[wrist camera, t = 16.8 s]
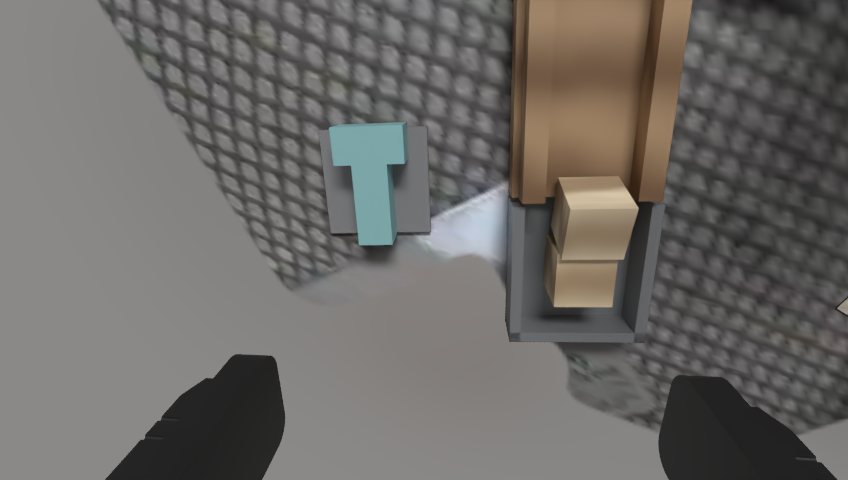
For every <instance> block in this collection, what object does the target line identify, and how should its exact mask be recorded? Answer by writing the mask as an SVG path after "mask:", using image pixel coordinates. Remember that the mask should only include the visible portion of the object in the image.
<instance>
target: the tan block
mask: <svg viewBox="0 0 848 480" xmlns="http://www.w3.org/2000/svg"><path fill="white" fill-rule="evenodd" d="M617 264H618V260H561V257H560V253H559V250H558V247H557V243H556V240H555V237H554V235H546V246H545V262H544V278H543V284H544V286H545V288H546V290H547V293H548V295H549V297H550V300H551V302H552V304H553V306H554V307H612V304H613V296H614V288H615V280H616V272H617Z"/></svg>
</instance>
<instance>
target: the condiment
mask: <svg viewBox="0 0 848 480" xmlns="http://www.w3.org/2000/svg"><path fill="white" fill-rule="evenodd" d="M837 309H838V310H840V311H842V312H843V313H845V314H847V315H848V298H847V299H846V300H845V301H844V302H843V303H842V304H841V305H840V306H839V307H838V308H837Z"/></svg>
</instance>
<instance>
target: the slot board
mask: <svg viewBox="0 0 848 480" xmlns="http://www.w3.org/2000/svg"><path fill="white" fill-rule="evenodd" d="M691 6H692V0H513V36H512V76H511V115H510V155H509V193H510V195H511V197H512V198H519V199H520V201H521V202H522V204H542V203H545V197H555V194H556V188H557V181H558V177H600V176H619V178H620V179H621V181H622V182H623V184H624V186H625V187H626V189H627V190H628V192H629V194H630V195H631V197H632V198H634V199H635V200H637V201H638V202H642V201H663V194H664V188H665V181H666V174H667V167H668V161H669V154H670V147H671V141H672V134H673V127H674V120H675V114H676V107H677V100H678V94H679V87H680V80H681V74H682V67H683V60H684V53H685V47H686V40H687V33H688V27H689V20H690V13H691Z"/></svg>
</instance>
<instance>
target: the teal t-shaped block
mask: <svg viewBox="0 0 848 480" xmlns="http://www.w3.org/2000/svg"><path fill="white" fill-rule="evenodd" d="M329 132H330V141H331V149H332V158H333V166H351V170H352V180H353V190H354V200H355V210H356V220H357V230H358V240H359V245H393V242H394V240H395V238H396V236H397V224H396V210H395V195H394V180H393V166H392V164H405V163H406V161H407V160H408V159H409V155H408V137H407V122H396V123H371V124H347V125H336V126H333V127H329Z"/></svg>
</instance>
